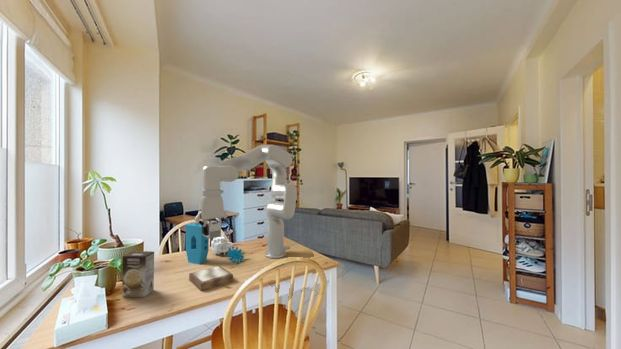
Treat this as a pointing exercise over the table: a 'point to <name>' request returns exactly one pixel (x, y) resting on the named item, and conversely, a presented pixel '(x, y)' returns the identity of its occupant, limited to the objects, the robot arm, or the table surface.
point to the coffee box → (138, 274)
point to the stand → (210, 278)
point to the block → (196, 244)
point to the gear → (235, 254)
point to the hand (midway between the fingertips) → (211, 233)
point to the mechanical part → (221, 244)
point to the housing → (213, 229)
